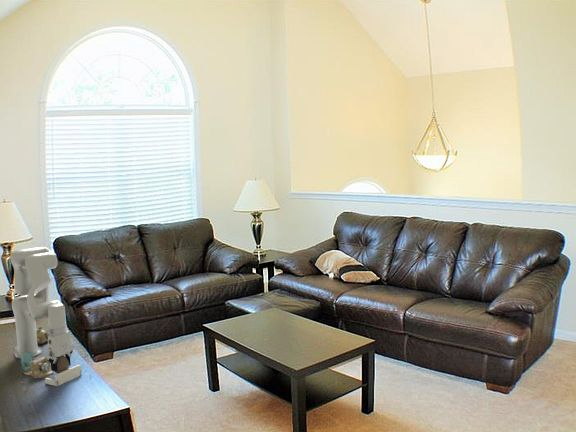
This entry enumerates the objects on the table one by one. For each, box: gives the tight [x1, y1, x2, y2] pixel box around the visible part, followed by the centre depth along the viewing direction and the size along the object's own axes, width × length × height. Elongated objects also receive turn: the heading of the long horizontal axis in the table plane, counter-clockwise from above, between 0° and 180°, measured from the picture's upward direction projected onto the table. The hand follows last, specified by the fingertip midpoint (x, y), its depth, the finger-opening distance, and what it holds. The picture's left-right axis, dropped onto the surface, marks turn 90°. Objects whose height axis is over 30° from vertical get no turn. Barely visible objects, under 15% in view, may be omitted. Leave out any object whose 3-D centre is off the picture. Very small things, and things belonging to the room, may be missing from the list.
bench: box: [23, 355, 54, 379], centre depth 272 cm, size 13×8×7 cm, turn 62°
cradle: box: [44, 364, 82, 387], centre depth 264 cm, size 8×14×5 cm, turn 152°
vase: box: [54, 355, 70, 374], centre depth 264 cm, size 7×7×9 cm
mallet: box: [20, 352, 49, 372], centre depth 273 cm, size 14×5×8 cm, turn 62°
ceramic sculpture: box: [36, 327, 49, 345], centre depth 321 cm, size 11×9×15 cm
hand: (61, 367), depth 265 cm, fingers closed on vase, 7 cm apart
